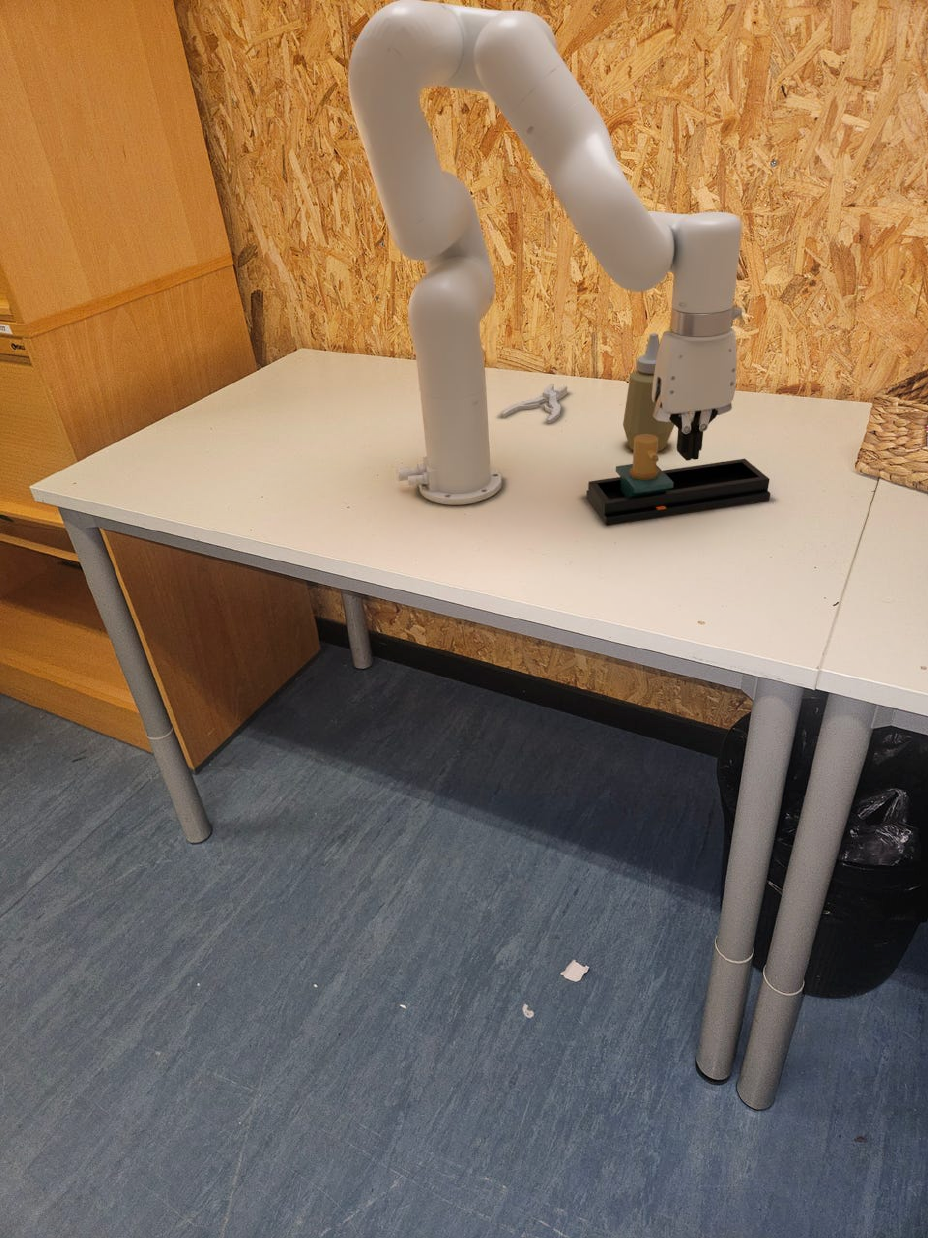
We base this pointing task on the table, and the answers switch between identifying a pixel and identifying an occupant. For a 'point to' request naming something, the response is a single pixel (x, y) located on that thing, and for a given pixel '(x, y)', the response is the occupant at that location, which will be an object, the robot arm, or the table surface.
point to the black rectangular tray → (682, 492)
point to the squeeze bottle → (644, 400)
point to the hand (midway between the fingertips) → (688, 456)
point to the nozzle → (643, 469)
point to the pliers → (548, 396)
